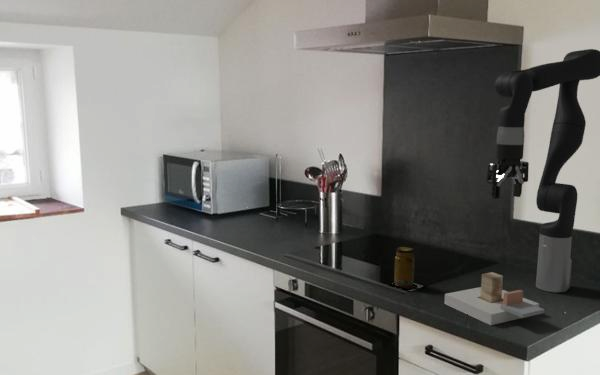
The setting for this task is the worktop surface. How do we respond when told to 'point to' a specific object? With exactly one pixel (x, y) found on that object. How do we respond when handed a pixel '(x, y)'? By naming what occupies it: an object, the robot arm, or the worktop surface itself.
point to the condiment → (405, 268)
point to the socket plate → (481, 306)
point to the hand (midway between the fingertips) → (506, 197)
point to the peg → (491, 287)
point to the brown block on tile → (519, 305)
